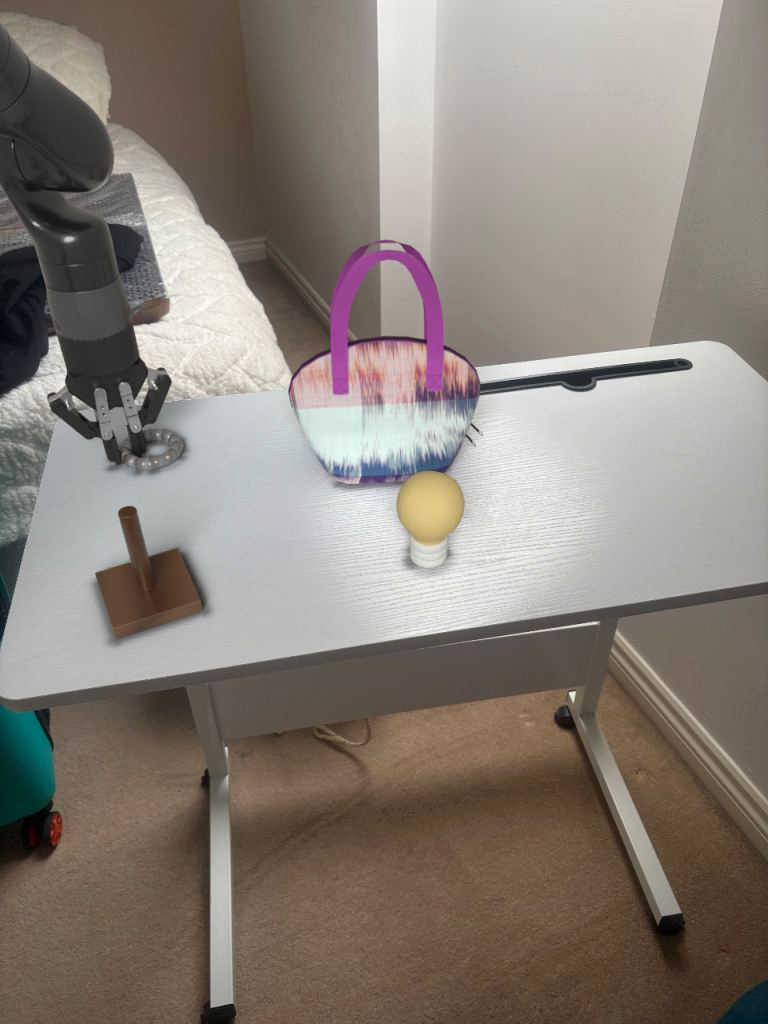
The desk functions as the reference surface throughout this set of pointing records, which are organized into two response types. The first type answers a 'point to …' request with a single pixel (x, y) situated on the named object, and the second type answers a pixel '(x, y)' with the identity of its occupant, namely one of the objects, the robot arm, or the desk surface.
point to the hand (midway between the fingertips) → (127, 458)
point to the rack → (146, 584)
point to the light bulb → (430, 515)
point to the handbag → (385, 388)
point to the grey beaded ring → (154, 461)
